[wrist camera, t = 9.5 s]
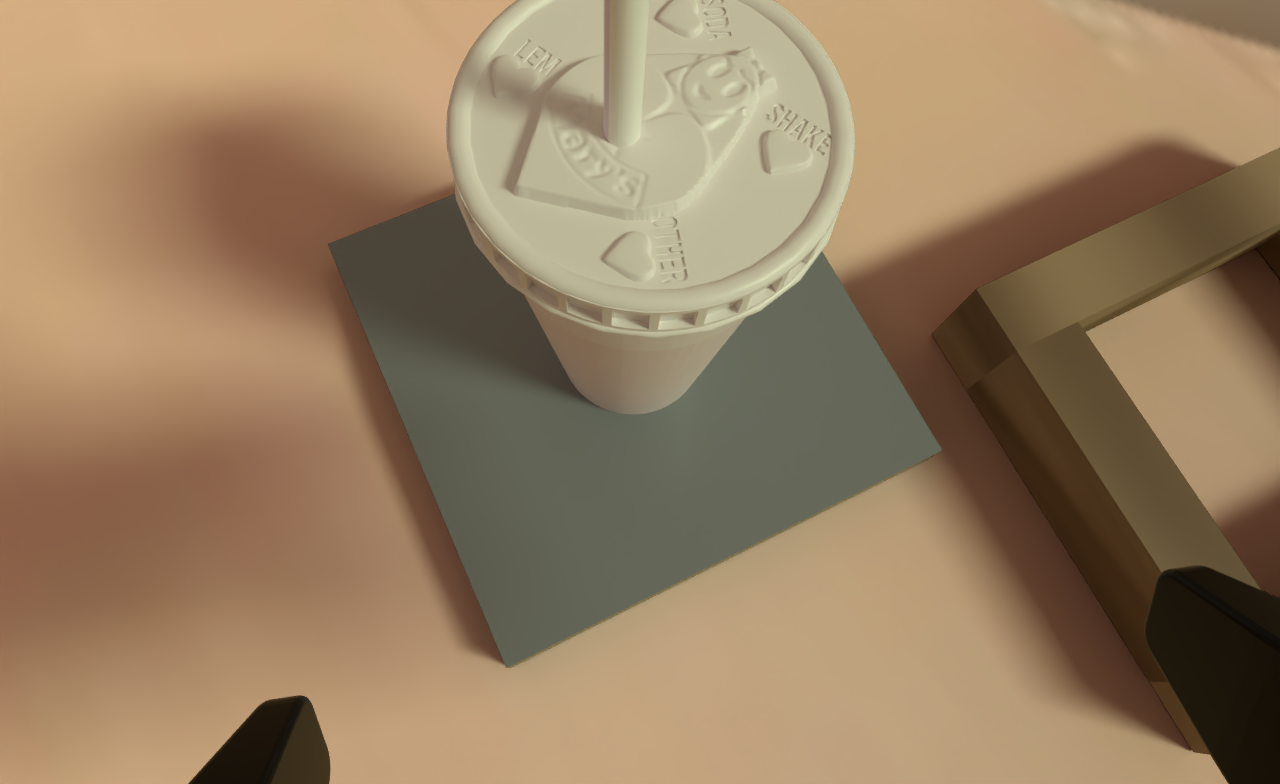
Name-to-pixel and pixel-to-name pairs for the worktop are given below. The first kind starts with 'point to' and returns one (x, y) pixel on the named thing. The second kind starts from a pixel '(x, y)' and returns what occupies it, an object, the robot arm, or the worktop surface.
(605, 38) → the smoothie
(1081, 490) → the holder
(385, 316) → the coaster
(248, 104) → the worktop surface
